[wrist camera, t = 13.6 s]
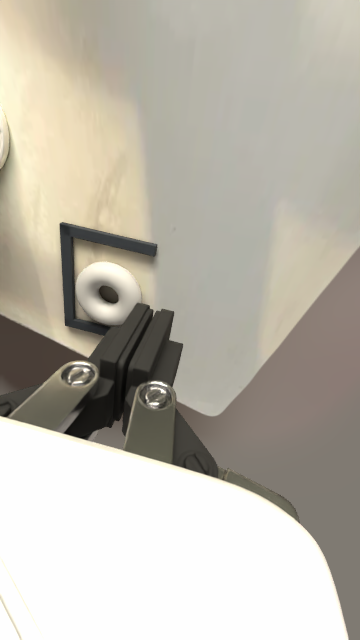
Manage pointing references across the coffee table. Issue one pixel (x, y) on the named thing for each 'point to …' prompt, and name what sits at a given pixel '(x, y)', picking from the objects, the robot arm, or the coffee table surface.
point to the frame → (68, 266)
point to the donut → (113, 278)
